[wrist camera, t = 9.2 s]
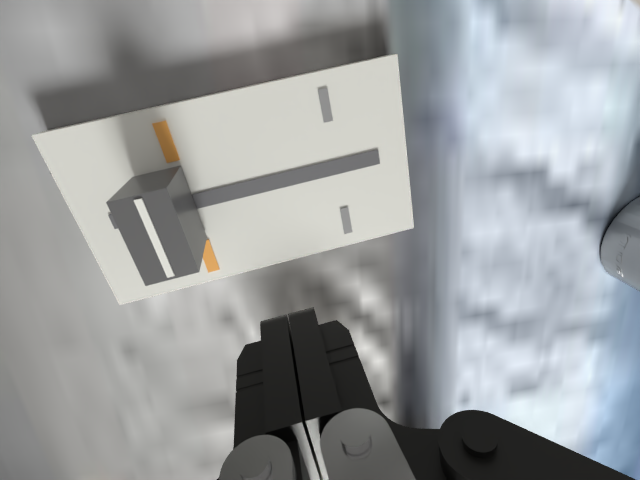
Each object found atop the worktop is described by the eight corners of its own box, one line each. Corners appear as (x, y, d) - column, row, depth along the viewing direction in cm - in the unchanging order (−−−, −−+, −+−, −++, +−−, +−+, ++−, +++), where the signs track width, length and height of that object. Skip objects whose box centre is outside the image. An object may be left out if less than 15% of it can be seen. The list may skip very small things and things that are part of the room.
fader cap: (181, 165, 24) (166, 188, 19) (207, 236, 26) (199, 273, 21) (132, 176, 23) (105, 203, 19) (162, 248, 25) (145, 287, 21)
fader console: (386, 55, 25) (398, 53, 23) (403, 218, 31) (414, 228, 29) (47, 130, 24) (29, 135, 22) (127, 290, 29) (118, 306, 27)
